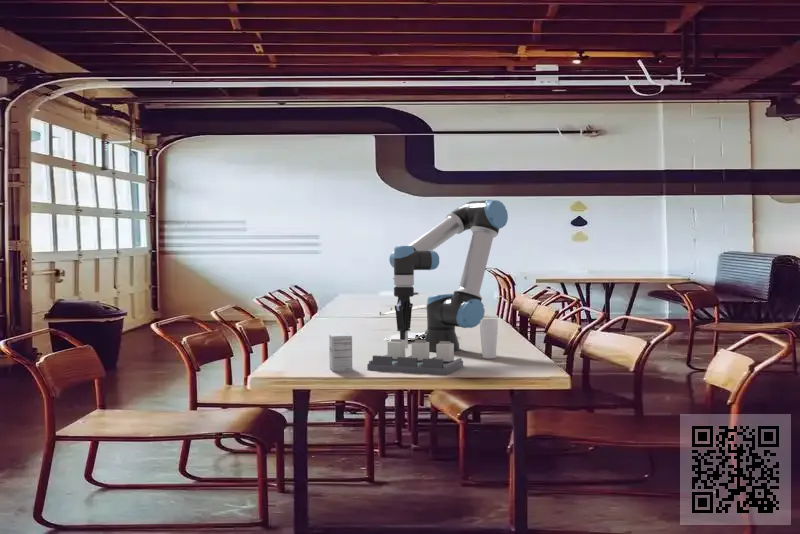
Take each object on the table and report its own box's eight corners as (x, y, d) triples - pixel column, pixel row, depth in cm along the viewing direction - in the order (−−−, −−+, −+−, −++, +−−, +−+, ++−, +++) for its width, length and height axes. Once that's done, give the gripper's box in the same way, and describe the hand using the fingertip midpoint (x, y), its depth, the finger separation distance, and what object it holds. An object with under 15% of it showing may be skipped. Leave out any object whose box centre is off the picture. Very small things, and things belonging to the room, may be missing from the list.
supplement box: (329, 368, 271) (328, 333, 270) (349, 367, 272) (349, 332, 272) (332, 372, 263) (331, 336, 263) (352, 371, 265) (352, 335, 265)
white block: (392, 356, 281) (392, 338, 281) (405, 357, 279) (405, 338, 279) (387, 358, 277) (387, 339, 276) (400, 359, 275) (400, 340, 275)
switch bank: (387, 361, 284) (386, 348, 284) (463, 366, 273) (463, 352, 272) (367, 369, 267) (367, 355, 267) (447, 374, 256) (447, 360, 256)
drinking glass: (490, 360, 286) (490, 320, 285) (476, 358, 291) (476, 319, 290) (501, 358, 291) (501, 319, 290) (487, 356, 295) (487, 318, 295)
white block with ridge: (416, 357, 278) (416, 339, 277) (429, 358, 276) (429, 339, 276) (411, 359, 273) (411, 341, 273) (424, 360, 271) (424, 341, 271)
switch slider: (440, 358, 274) (440, 340, 274) (453, 359, 272) (453, 340, 272) (436, 361, 270) (436, 342, 269) (449, 361, 268) (449, 342, 267)
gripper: (401, 285, 292) (401, 345, 293) (388, 286, 280) (388, 349, 281) (419, 285, 289) (419, 346, 290) (406, 287, 277) (406, 350, 278)
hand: (403, 348), depth 285 cm, fingers closed
